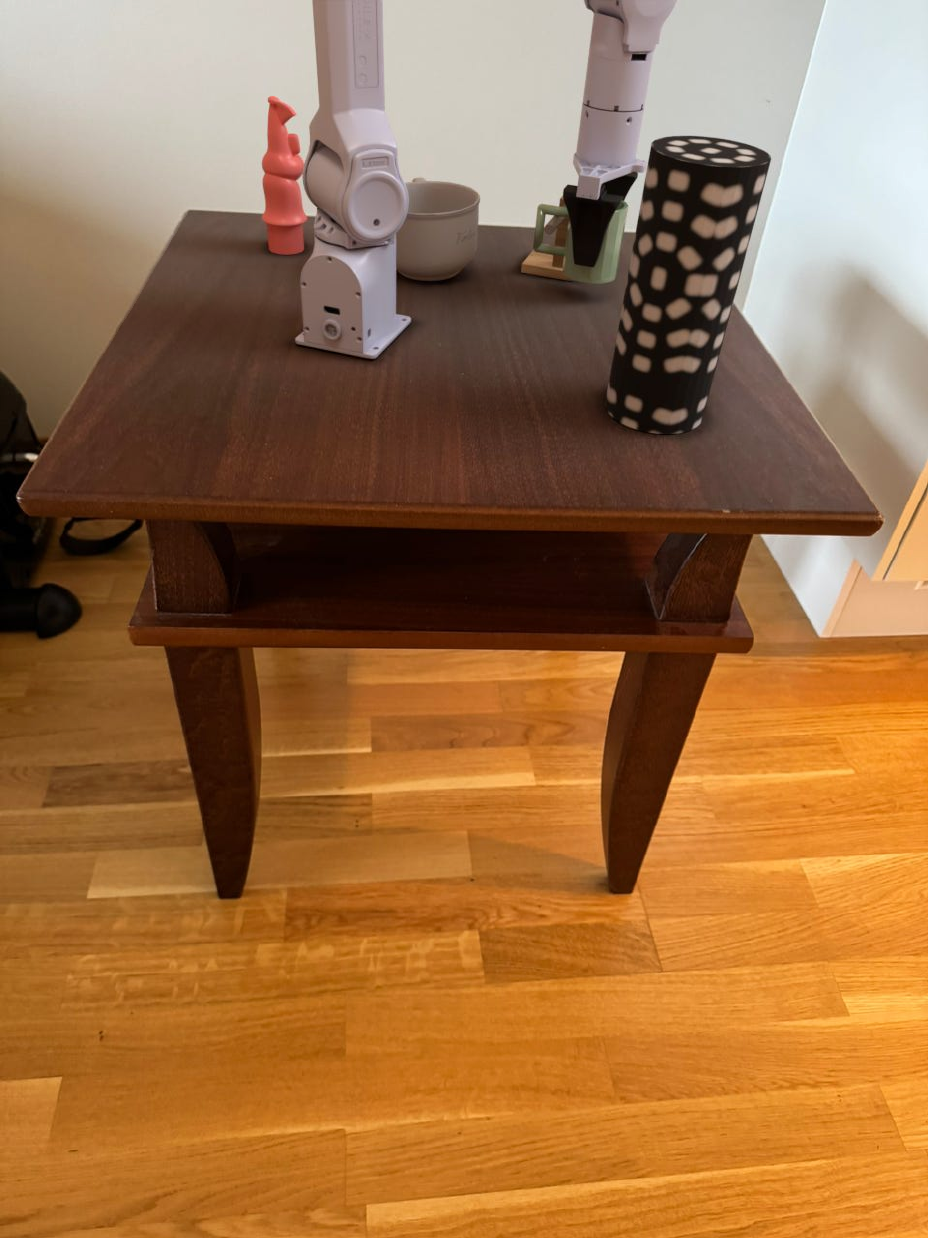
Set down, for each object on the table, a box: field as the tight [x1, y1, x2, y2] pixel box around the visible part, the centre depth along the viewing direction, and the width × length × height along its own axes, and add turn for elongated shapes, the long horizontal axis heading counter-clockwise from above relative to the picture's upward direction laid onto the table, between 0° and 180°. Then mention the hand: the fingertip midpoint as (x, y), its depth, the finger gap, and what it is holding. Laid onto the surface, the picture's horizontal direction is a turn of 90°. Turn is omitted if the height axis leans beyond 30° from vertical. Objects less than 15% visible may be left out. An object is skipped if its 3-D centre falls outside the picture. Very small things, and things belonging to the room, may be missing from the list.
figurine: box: [261, 95, 308, 256], centre depth 93 cm, size 5×5×15 cm
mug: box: [532, 200, 629, 285], centre depth 89 cm, size 9×6×7 cm, turn 72°
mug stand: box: [520, 195, 574, 282], centre depth 93 cm, size 12×6×8 cm, turn 162°
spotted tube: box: [604, 135, 772, 435], centre depth 67 cm, size 8×8×20 cm
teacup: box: [396, 177, 481, 282], centre depth 94 cm, size 14×11×8 cm
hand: (591, 255), depth 90 cm, fingers closed on mug, 6 cm apart
